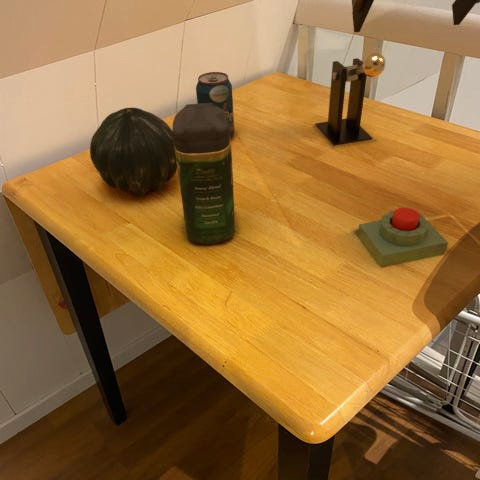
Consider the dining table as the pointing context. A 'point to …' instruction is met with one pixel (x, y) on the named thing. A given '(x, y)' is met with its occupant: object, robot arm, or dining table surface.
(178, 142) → the coffee jar
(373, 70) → the switch lever
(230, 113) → the soda can
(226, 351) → the dining table surface
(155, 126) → the squash
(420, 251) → the panel
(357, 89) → the switch bracket
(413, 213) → the button
